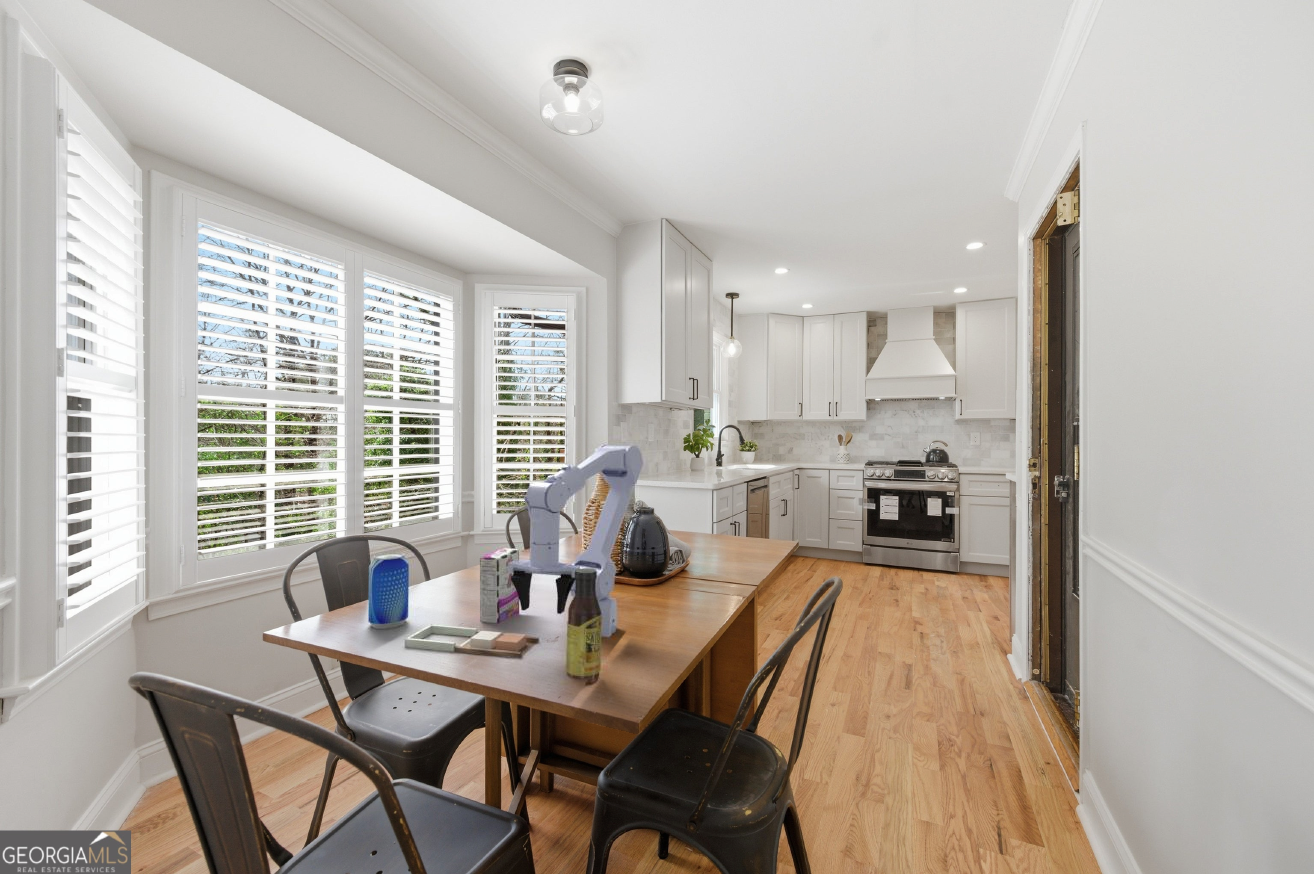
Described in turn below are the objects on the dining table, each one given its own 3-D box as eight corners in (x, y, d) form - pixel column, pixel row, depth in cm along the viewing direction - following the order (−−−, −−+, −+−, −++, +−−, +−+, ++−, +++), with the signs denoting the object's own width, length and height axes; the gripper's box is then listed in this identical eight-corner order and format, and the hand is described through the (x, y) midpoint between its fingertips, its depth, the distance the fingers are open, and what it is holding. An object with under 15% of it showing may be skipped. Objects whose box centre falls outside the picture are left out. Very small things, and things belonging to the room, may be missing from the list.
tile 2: (526, 644, 116) (526, 634, 116) (516, 652, 112) (516, 642, 112) (506, 642, 117) (506, 632, 117) (495, 650, 113) (495, 640, 113)
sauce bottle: (590, 689, 99) (591, 576, 99) (559, 683, 102) (560, 572, 102) (607, 675, 105) (608, 568, 105) (577, 669, 108) (578, 565, 108)
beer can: (373, 632, 126) (374, 560, 126) (364, 622, 133) (365, 554, 133) (412, 625, 132) (413, 556, 132) (402, 615, 138) (403, 550, 138)
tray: (477, 642, 121) (477, 628, 121) (453, 658, 112) (454, 643, 112) (430, 638, 123) (431, 624, 123) (404, 653, 114) (404, 638, 114)
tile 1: (501, 642, 117) (501, 632, 117) (490, 650, 113) (490, 640, 113) (481, 640, 118) (481, 630, 118) (470, 648, 114) (470, 638, 114)
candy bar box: (501, 613, 141) (501, 547, 141) (519, 614, 140) (520, 548, 140) (478, 628, 130) (479, 556, 130) (498, 629, 129) (499, 557, 129)
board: (538, 648, 118) (538, 637, 118) (519, 665, 109) (519, 653, 109) (477, 642, 121) (477, 631, 121) (453, 658, 112) (453, 647, 112)
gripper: (501, 543, 111) (499, 613, 111) (571, 548, 108) (569, 619, 108) (518, 537, 118) (516, 603, 118) (584, 541, 115) (582, 609, 115)
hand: (542, 610), depth 113 cm, fingers open, 7 cm apart
